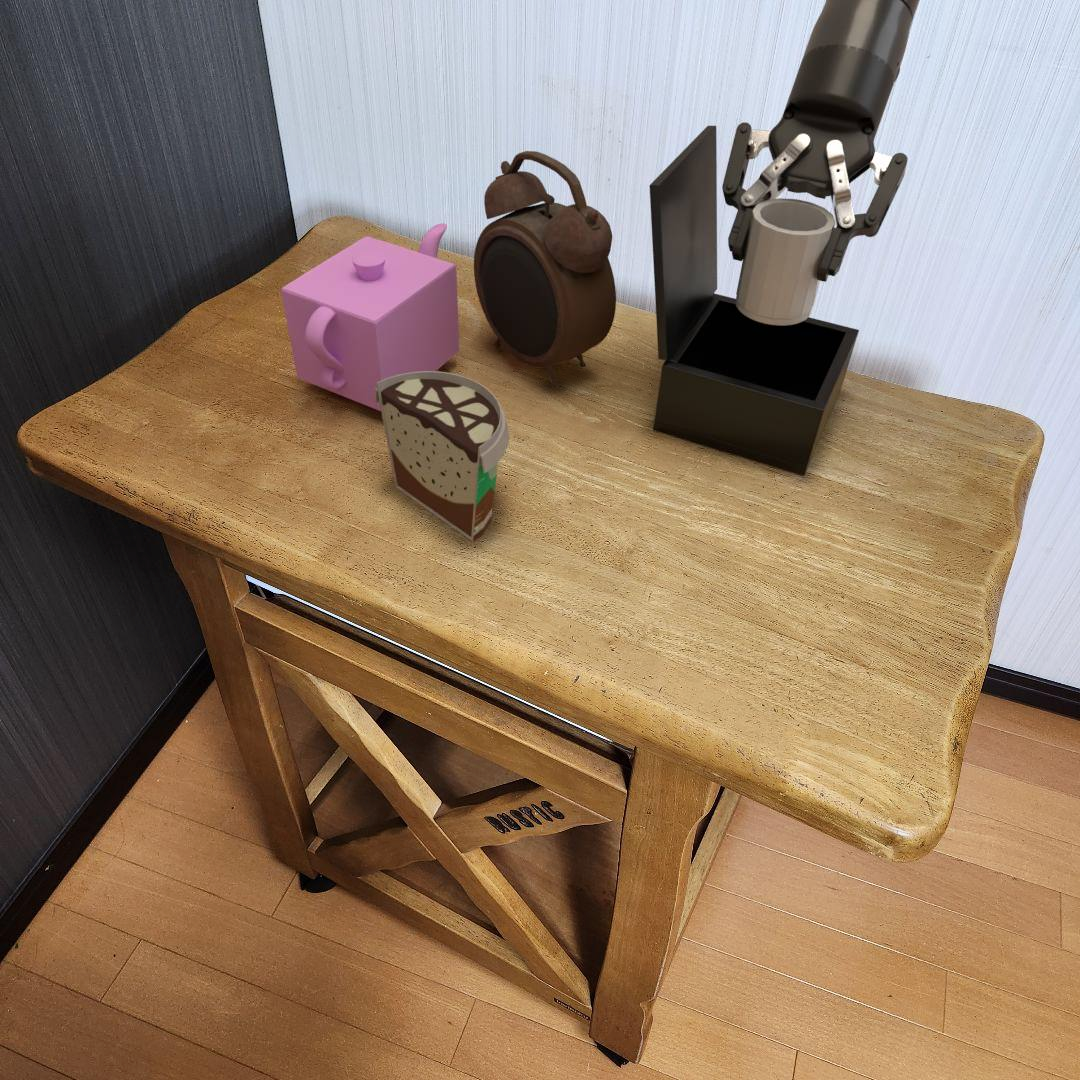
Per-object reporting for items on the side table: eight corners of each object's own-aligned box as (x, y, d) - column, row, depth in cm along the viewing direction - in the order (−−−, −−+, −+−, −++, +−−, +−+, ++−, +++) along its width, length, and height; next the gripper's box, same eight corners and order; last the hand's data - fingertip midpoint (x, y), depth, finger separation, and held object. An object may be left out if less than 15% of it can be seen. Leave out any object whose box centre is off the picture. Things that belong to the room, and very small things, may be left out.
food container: (540, 513, 74) (544, 414, 67) (486, 551, 71) (484, 451, 64) (437, 447, 80) (431, 349, 73) (383, 479, 77) (371, 379, 70)
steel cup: (819, 298, 79) (842, 208, 73) (800, 333, 75) (824, 241, 69) (747, 280, 81) (765, 192, 75) (725, 313, 77) (743, 222, 71)
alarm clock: (464, 343, 92) (457, 142, 78) (519, 320, 96) (521, 123, 82) (559, 410, 85) (570, 200, 71) (615, 382, 88) (636, 176, 74)
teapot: (369, 441, 80) (353, 315, 72) (281, 405, 84) (255, 280, 75) (490, 339, 93) (489, 221, 84) (410, 311, 97) (400, 195, 88)
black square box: (839, 393, 88) (859, 329, 83) (804, 476, 79) (824, 410, 74) (701, 355, 92) (712, 292, 87) (652, 430, 83) (662, 364, 78)
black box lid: (716, 125, 77) (707, 125, 78) (659, 185, 68) (649, 185, 68) (717, 288, 87) (709, 288, 87) (667, 360, 77) (658, 359, 78)
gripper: (758, 27, 72) (688, 230, 72) (947, 57, 67) (870, 272, 68) (763, 79, 79) (699, 263, 79) (934, 109, 74) (865, 304, 75)
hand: (778, 267), depth 74 cm, fingers closed on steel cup, 6 cm apart
